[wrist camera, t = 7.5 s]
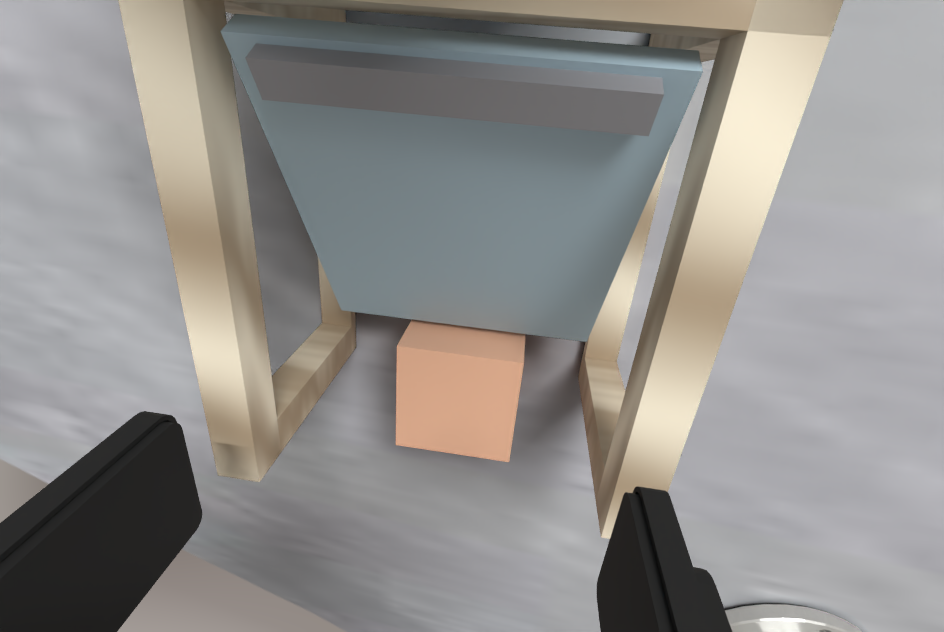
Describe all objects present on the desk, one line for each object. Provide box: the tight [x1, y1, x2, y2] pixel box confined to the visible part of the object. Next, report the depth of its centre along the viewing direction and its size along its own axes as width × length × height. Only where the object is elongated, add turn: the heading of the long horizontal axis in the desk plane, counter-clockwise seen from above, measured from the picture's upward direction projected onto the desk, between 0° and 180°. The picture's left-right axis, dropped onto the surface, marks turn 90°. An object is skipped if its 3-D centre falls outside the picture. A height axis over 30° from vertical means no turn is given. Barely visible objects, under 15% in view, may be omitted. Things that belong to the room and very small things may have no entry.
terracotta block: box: [396, 319, 525, 462], centre depth 22 cm, size 5×5×5 cm
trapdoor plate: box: [220, 14, 703, 342], centre depth 15 cm, size 12×10×1 cm
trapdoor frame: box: [118, 0, 843, 539], centre depth 16 cm, size 16×14×10 cm
